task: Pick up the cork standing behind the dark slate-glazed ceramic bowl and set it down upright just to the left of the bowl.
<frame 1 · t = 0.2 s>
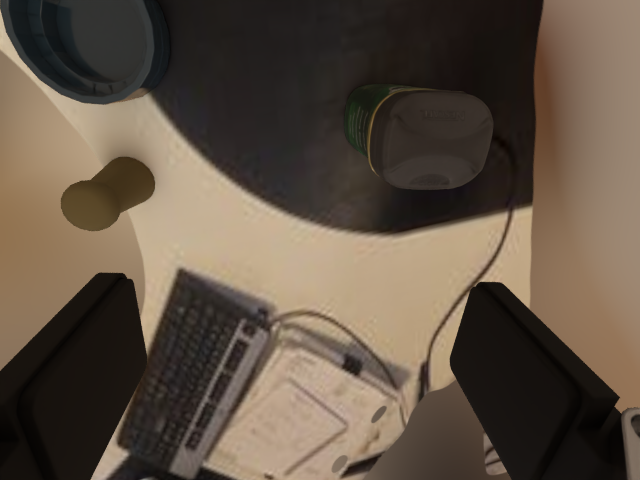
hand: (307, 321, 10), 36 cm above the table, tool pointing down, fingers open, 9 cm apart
bowl: (108, 34, 37), on the table
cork: (130, 180, 44), on the table
coffee jar: (381, 118, 43), on the table
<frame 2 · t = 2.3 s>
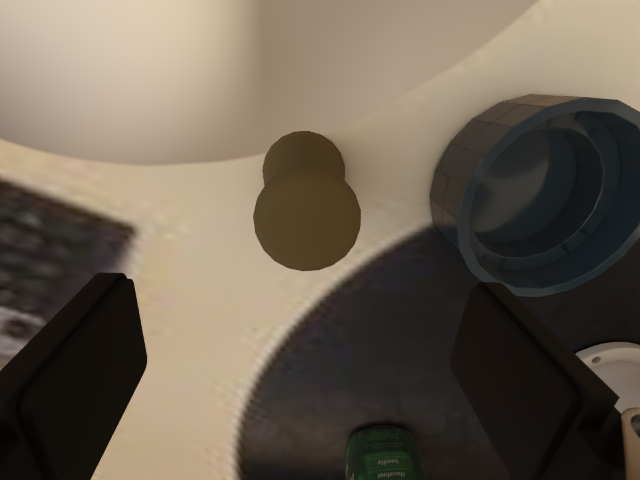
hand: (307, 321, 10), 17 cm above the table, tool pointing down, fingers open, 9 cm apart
bowl: (510, 186, 27), on the table
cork: (304, 173, 25), on the table
coffee jar: (376, 448, 39), on the table
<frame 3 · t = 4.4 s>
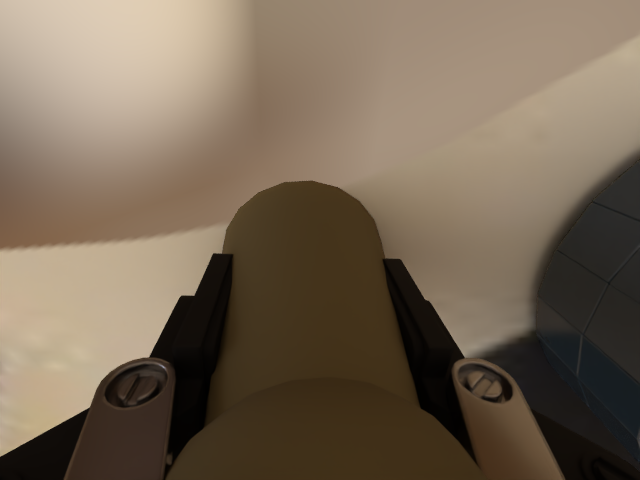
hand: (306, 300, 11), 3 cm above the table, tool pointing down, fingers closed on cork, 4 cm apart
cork: (303, 255, 13), on the table, touching gripper
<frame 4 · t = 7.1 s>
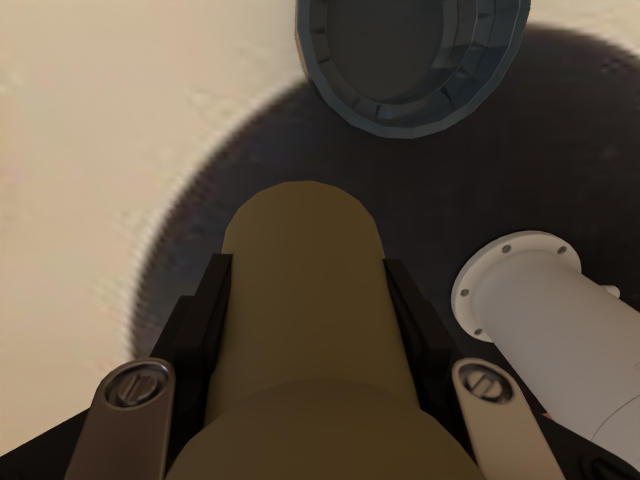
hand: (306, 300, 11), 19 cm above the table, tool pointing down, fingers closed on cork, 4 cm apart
bowl: (388, 28, 24), on the table
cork: (302, 255, 13), point 16 cm above the table, touching gripper
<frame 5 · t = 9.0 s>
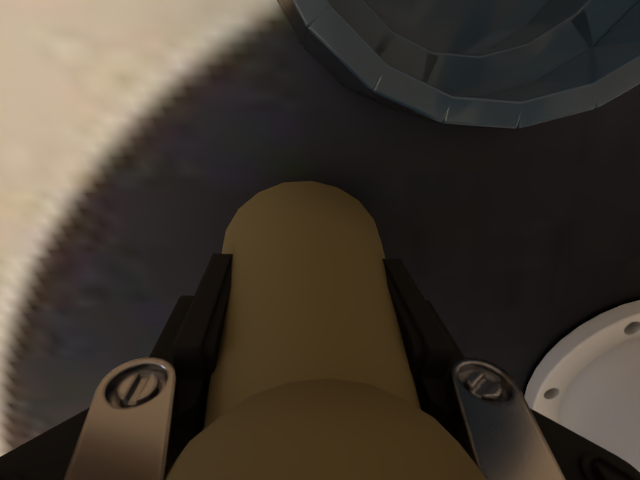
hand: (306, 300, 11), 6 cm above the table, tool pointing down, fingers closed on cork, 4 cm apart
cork: (303, 255, 13), point 3 cm above the table, touching gripper
when the fingers open (3 cm above the table, at t = 10.2 s): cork stays where it is, on the table.
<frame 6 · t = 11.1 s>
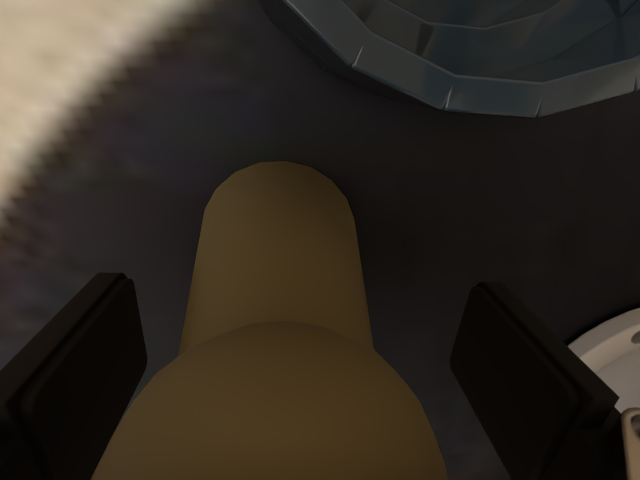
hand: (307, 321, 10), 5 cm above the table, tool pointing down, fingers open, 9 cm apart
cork: (280, 234, 14), on the table
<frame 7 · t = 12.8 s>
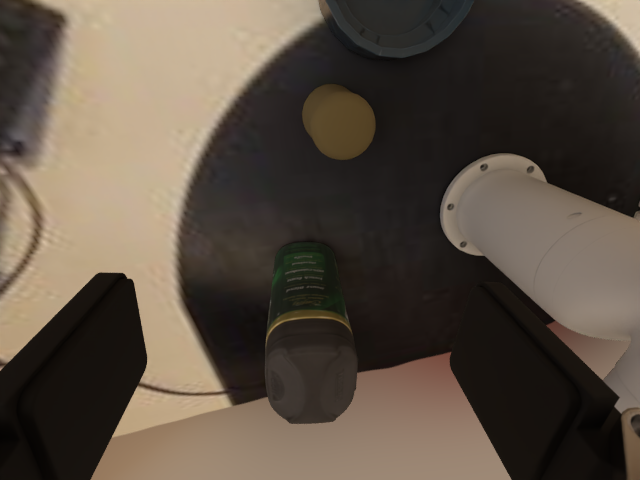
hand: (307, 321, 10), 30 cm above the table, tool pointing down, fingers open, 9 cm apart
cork: (330, 115, 36), on the table
coffee jar: (304, 272, 44), on the table
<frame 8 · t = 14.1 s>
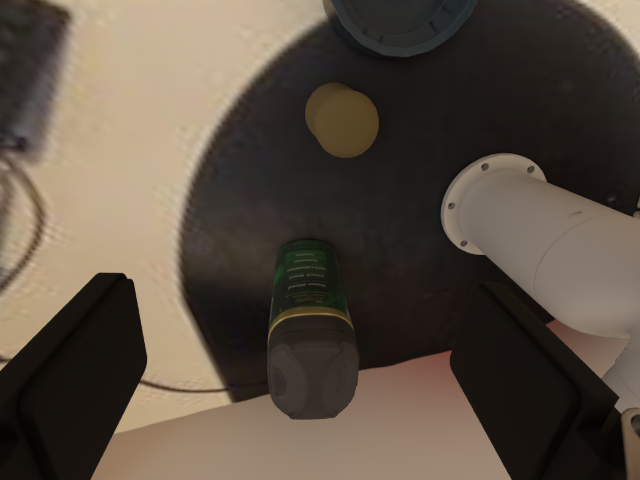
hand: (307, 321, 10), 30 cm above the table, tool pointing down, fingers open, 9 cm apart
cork: (333, 113, 36), on the table
coffee jar: (305, 270, 44), on the table
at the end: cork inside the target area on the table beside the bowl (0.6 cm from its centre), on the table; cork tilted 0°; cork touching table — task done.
